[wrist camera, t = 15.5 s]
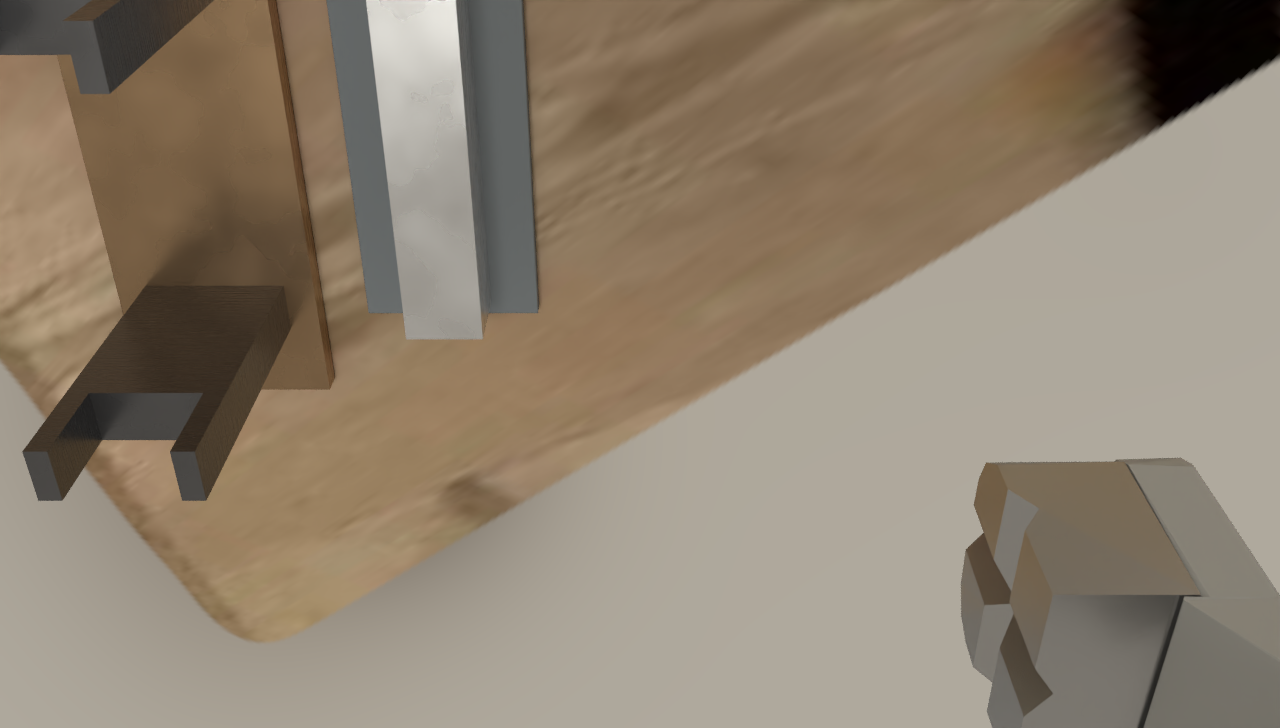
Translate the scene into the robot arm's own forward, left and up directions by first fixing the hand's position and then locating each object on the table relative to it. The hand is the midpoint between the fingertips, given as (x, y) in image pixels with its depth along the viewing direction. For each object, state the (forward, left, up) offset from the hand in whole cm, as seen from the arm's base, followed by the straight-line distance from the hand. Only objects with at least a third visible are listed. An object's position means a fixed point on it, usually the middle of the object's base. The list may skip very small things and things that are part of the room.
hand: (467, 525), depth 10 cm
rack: (+16, +11, -37) cm, 42 cm away
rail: (+6, +8, -36) cm, 38 cm away
